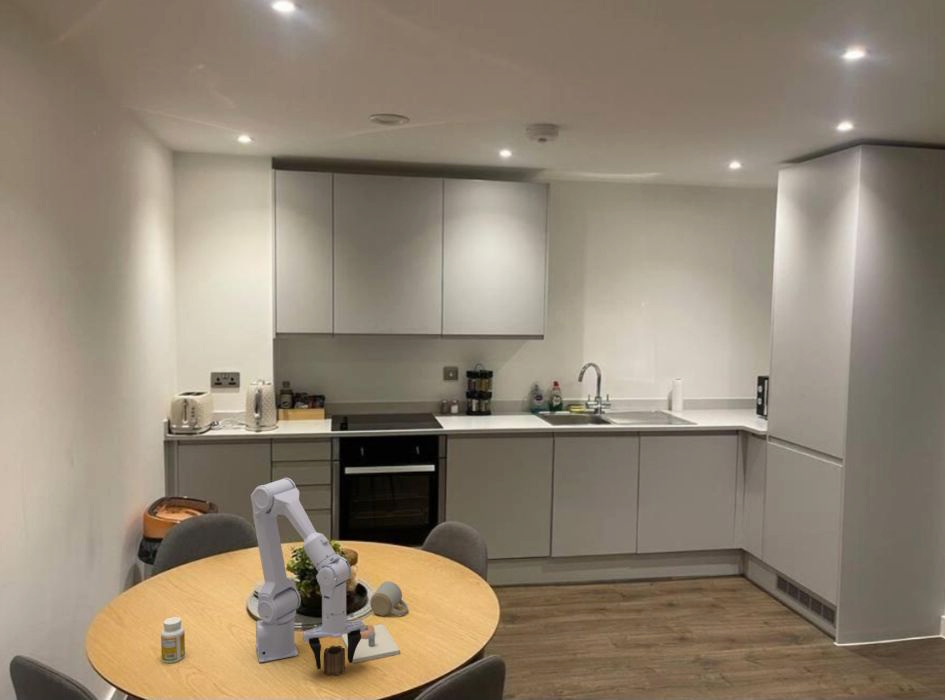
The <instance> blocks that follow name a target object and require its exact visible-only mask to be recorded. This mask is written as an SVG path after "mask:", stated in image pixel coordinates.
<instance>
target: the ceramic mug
mask: <svg viewBox="0 0 945 700" xmlns="http://www.w3.org/2000/svg"><path fill="white" fill-rule="evenodd" d="M402 598H403V593H402V590H401V588H400V586H399V585H398V584H396V583H395V582H392V581H384V582H382V583H381V584H380V585H379V587H378V588H377V589H376V591H375V592H374V593H373V594H372V595H371V597H370V604H369V605H370V608H371V610H372V612H374V613H375V614H377V615H378V616H387V615H388V614H390V613H392V614H394V615H395V616H396V615H397V616H405V615H406V614H407V611H408V610H409V605H408V604H407V603H406V602H405V601H404V599H402ZM399 605H400V606H401V607H402V608H403V609H404V610H402V611H401V610H398V609H396V607H397V606H399Z"/></svg>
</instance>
